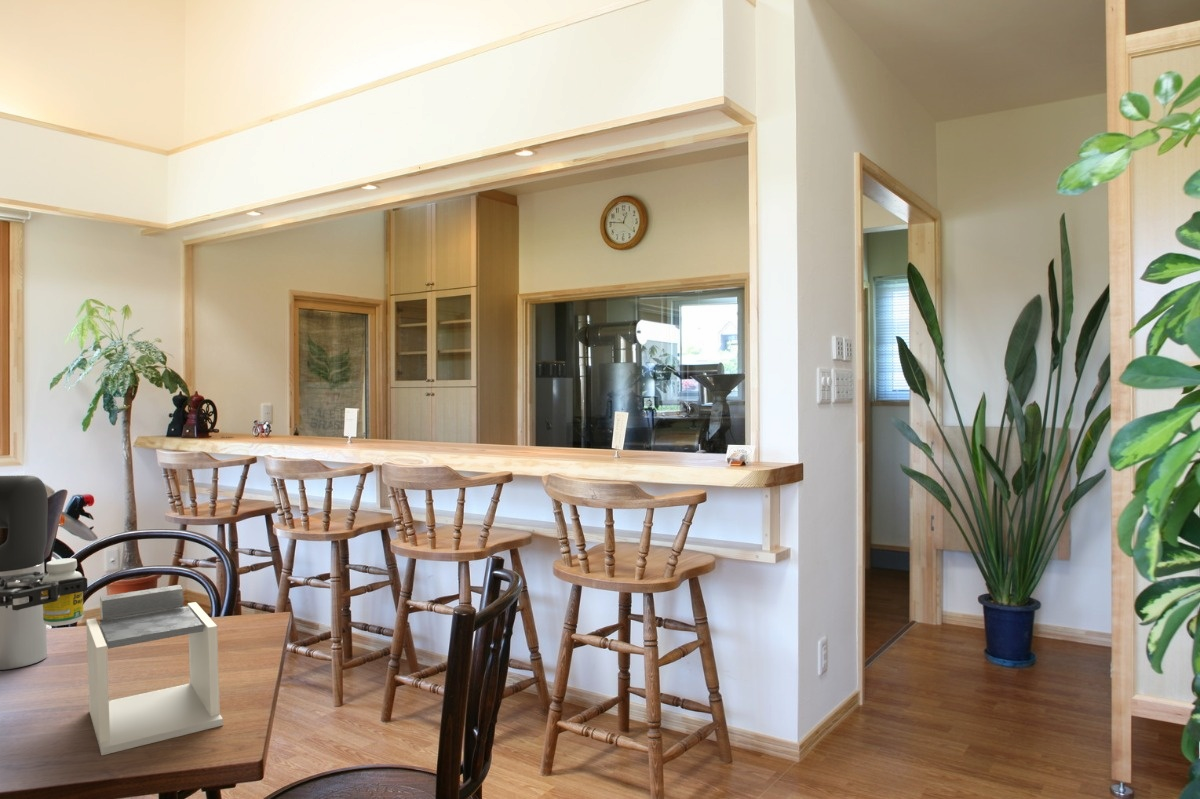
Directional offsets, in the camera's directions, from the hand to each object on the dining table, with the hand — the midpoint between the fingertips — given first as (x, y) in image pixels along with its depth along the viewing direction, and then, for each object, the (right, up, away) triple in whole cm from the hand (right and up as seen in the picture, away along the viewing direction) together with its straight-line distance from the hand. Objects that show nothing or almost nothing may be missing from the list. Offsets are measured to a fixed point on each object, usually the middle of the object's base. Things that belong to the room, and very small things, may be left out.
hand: (80, 579), depth 130 cm
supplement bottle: (-2, -6, -2) cm, 7 cm away
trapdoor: (+15, -5, -8) cm, 18 cm away
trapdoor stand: (+17, -18, -9) cm, 26 cm away
